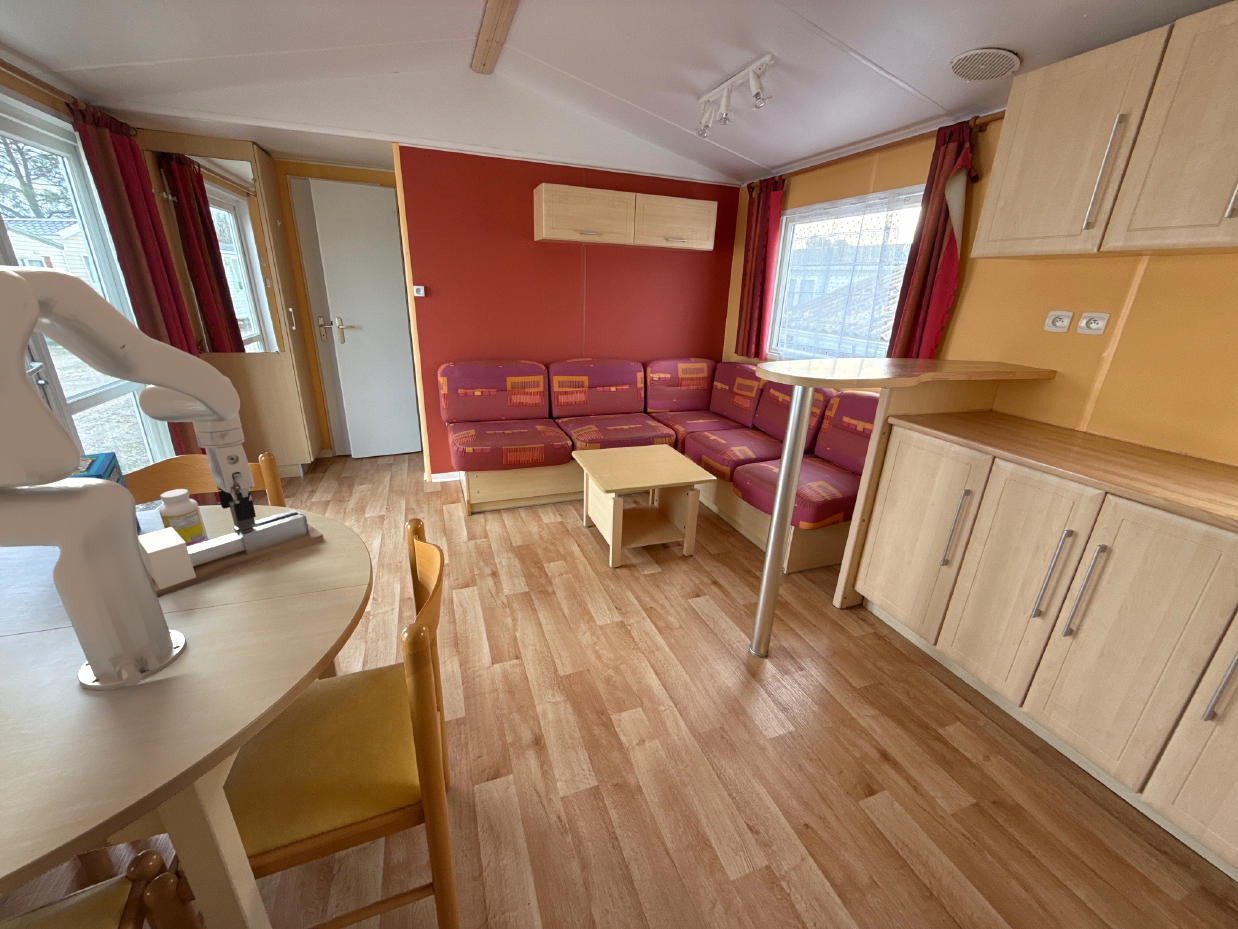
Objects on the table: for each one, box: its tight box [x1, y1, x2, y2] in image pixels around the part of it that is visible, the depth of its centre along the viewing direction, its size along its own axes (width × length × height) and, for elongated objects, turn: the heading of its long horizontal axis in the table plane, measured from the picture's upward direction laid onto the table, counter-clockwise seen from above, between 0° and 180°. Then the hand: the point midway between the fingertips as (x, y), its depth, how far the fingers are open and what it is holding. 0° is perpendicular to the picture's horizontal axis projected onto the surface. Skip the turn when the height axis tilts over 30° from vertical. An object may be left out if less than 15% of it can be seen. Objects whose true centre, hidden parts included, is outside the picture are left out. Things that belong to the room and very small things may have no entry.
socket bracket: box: [138, 527, 196, 589], centre depth 98 cm, size 10×6×8 cm, turn 52°
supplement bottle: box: [158, 488, 208, 547], centre depth 112 cm, size 7×7×13 cm
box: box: [68, 451, 142, 536], centre depth 107 cm, size 17×9×20 cm, turn 37°
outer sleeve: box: [233, 508, 310, 555], centre depth 112 cm, size 6×12×5 cm, turn 142°
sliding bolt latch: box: [187, 501, 256, 566], centre depth 104 cm, size 4×17×10 cm, turn 142°
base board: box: [149, 523, 325, 598], centre depth 108 cm, size 10×30×2 cm, turn 142°
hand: (238, 512), depth 106 cm, fingers open, 9 cm apart
